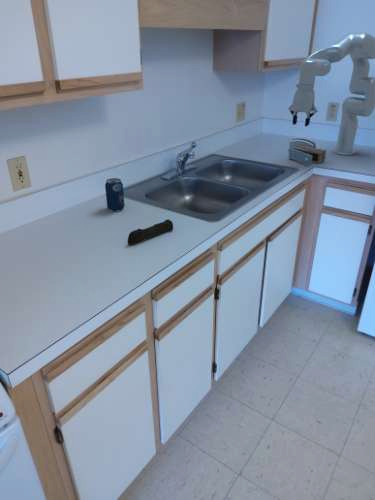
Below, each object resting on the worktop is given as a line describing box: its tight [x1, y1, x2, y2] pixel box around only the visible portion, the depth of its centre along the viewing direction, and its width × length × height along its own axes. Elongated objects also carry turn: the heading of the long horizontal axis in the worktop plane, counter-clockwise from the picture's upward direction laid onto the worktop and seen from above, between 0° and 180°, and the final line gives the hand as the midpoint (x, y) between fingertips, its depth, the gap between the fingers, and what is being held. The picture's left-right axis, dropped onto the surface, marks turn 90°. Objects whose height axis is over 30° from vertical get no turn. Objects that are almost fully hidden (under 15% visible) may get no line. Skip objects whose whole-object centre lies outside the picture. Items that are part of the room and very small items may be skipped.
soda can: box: [104, 177, 126, 212], centre depth 155 cm, size 7×7×12 cm
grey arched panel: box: [288, 137, 317, 152], centre depth 233 cm, size 17×5×10 cm, turn 50°
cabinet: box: [292, 145, 327, 165], centre depth 220 cm, size 8×17×6 cm, turn 53°
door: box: [288, 148, 313, 166], centre depth 215 cm, size 2×17×5 cm, turn 27°
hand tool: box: [127, 219, 174, 246], centre depth 135 cm, size 19×4×5 cm, turn 132°
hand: (300, 124), depth 201 cm, fingers open, 5 cm apart
